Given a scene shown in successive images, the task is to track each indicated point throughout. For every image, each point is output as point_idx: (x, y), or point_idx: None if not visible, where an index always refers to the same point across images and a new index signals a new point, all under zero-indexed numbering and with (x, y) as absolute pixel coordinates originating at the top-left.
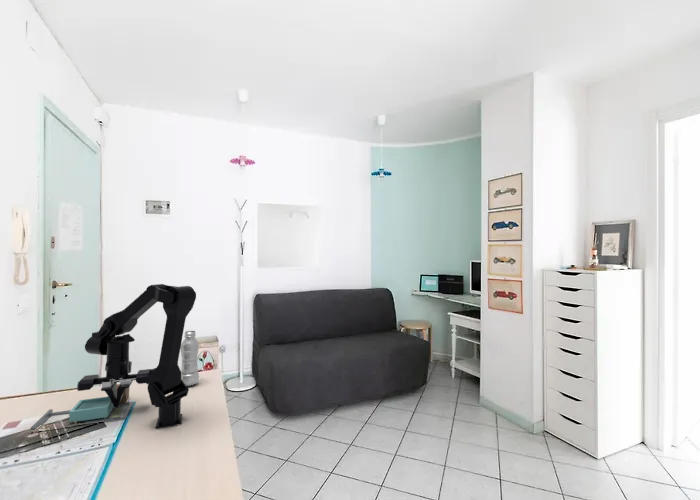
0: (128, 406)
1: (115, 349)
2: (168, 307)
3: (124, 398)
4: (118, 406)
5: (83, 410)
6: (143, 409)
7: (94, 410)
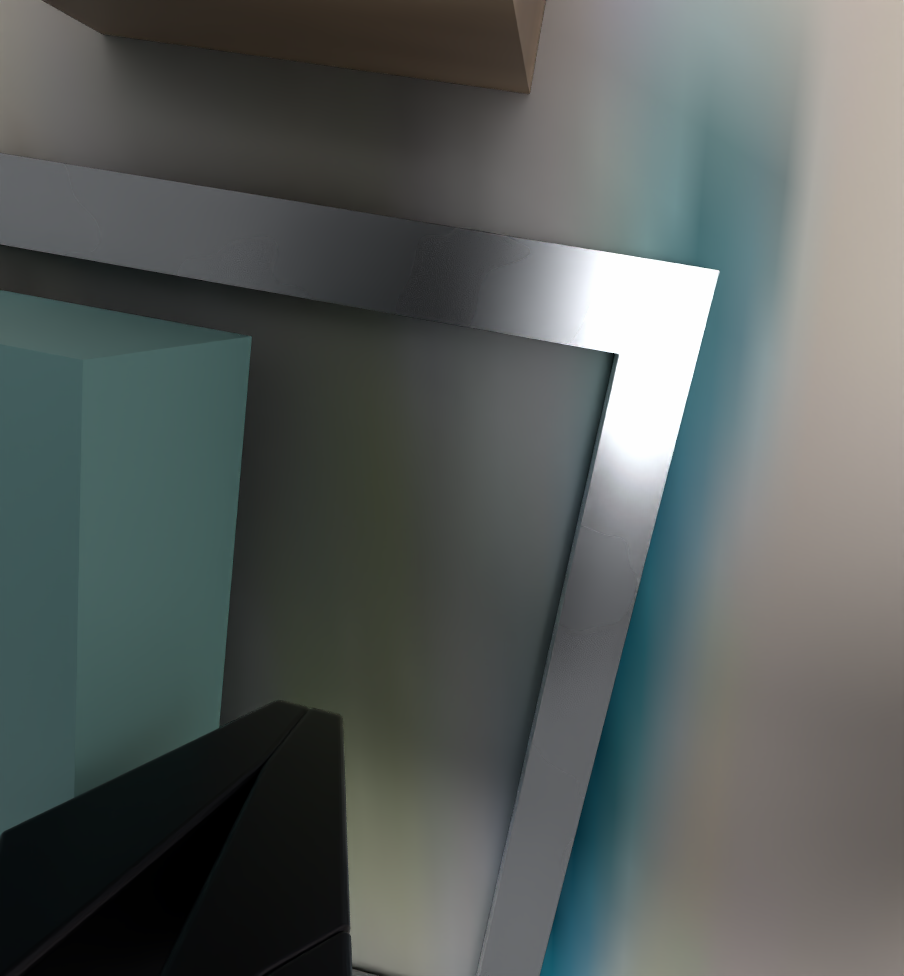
0: (577, 588)
1: None
2: None
3: (471, 37)
4: (341, 722)
5: None
6: (879, 822)
7: None
